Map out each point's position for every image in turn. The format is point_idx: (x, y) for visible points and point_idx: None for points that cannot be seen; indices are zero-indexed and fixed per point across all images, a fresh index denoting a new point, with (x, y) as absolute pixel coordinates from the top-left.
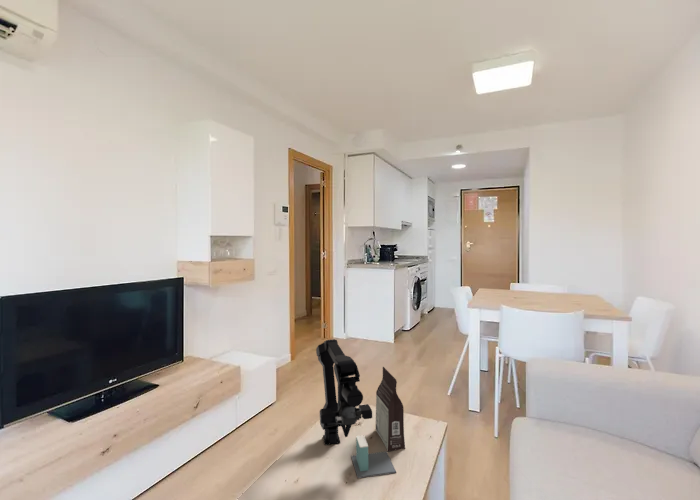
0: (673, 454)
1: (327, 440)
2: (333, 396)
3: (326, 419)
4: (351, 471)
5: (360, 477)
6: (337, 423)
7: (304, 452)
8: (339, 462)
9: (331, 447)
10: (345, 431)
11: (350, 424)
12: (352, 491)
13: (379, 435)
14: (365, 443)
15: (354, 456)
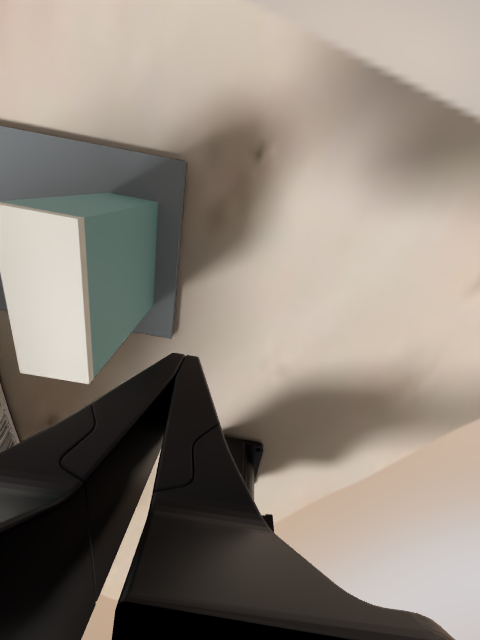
0: None
1: (247, 458)
2: None
3: None
4: (203, 233)
5: (169, 158)
6: (446, 636)
7: (361, 431)
8: (240, 321)
9: (240, 421)
10: (181, 395)
11: (13, 473)
12: (255, 44)
13: (9, 418)
14: (13, 253)
15: (157, 327)
